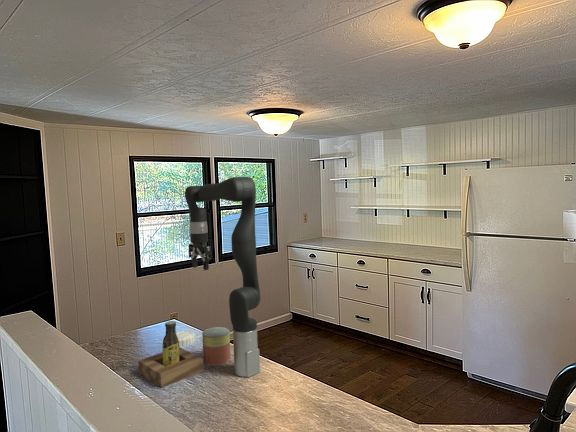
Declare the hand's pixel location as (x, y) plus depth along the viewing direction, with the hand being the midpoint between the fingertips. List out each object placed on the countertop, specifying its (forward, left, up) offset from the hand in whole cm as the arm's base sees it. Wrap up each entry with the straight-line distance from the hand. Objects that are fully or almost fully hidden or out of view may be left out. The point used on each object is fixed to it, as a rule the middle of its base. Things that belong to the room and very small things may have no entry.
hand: (200, 268), depth 187 cm
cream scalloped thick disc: (+15, +2, -37) cm, 40 cm away
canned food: (-14, +3, -36) cm, 39 cm away
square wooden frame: (-10, +22, -36) cm, 43 cm away
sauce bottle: (-11, +22, -36) cm, 44 cm away
